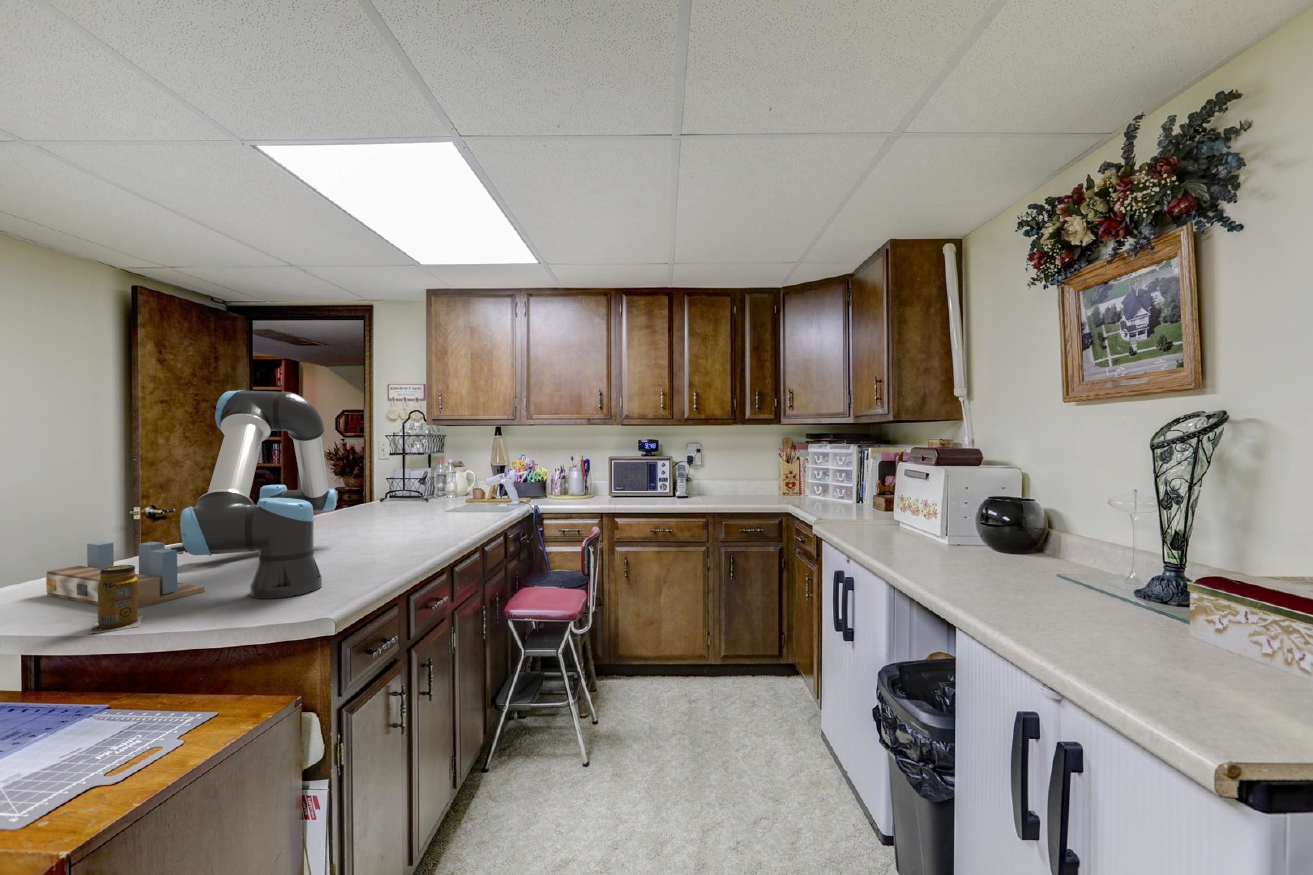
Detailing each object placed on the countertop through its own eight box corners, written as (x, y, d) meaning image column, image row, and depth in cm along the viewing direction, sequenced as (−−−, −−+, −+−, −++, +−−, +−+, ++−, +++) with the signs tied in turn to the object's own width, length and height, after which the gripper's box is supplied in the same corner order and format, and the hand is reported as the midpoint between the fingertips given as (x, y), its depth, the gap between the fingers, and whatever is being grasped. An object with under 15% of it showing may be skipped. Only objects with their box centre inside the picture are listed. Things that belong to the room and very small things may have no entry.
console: (204, 591, 139) (204, 567, 139) (123, 611, 124) (123, 584, 124) (125, 579, 151) (125, 557, 150) (42, 596, 135) (42, 571, 135)
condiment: (142, 616, 121) (141, 561, 121) (138, 626, 114) (138, 569, 114) (95, 623, 116) (94, 567, 116) (88, 635, 110) (87, 575, 109)
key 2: (177, 590, 134) (177, 550, 134) (162, 594, 132) (162, 552, 132) (164, 588, 136) (164, 548, 136) (149, 592, 133) (149, 551, 133)
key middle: (165, 581, 143) (164, 542, 143) (151, 584, 140) (150, 545, 140) (153, 579, 145) (152, 541, 145) (139, 582, 142) (138, 543, 142)
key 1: (113, 581, 143) (113, 542, 143) (98, 583, 141) (98, 544, 141) (102, 579, 145) (102, 541, 145) (87, 582, 142) (87, 543, 142)
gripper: (257, 550, 174) (170, 567, 152) (229, 547, 178) (140, 563, 156) (257, 526, 174) (169, 540, 152) (229, 524, 178) (140, 537, 156)
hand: (155, 552), depth 154 cm, fingers closed
